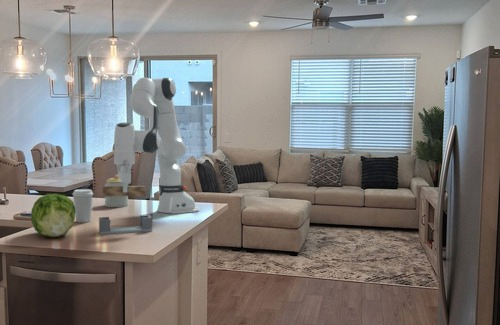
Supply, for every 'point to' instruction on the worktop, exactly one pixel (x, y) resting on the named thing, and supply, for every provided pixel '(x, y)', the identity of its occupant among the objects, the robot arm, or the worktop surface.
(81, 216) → the coffee cup
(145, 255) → the worktop surface
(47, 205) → the lettuce
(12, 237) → the worktop surface
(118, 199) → the jar
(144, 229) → the grey cradle
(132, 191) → the slat
